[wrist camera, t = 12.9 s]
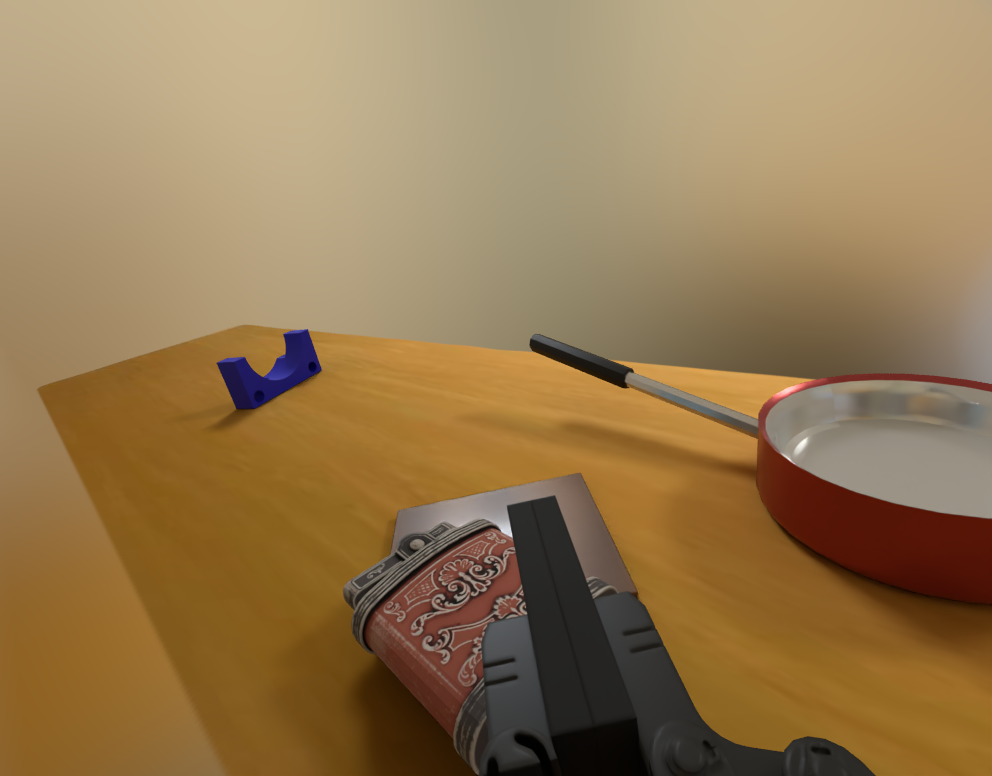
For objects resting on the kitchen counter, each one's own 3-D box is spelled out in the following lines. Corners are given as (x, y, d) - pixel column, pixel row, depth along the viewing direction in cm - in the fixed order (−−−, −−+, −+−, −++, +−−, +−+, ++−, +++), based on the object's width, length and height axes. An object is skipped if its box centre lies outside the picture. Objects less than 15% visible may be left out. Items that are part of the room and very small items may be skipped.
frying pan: (472, 445, 37) (455, 372, 35) (570, 383, 45) (561, 320, 43) (1142, 682, 15) (1223, 520, 12) (1101, 475, 23) (1146, 352, 20)
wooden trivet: (376, 656, 21) (372, 647, 21) (399, 517, 30) (397, 510, 30) (639, 601, 21) (638, 591, 21) (581, 479, 30) (580, 472, 30)
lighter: (621, 631, 19) (466, 539, 26) (618, 566, 18) (456, 487, 25) (480, 802, 14) (334, 631, 21) (463, 726, 13) (315, 572, 20)
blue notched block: (298, 371, 67) (283, 331, 65) (321, 370, 65) (307, 329, 63) (228, 408, 57) (208, 363, 55) (253, 408, 55) (234, 361, 53)
